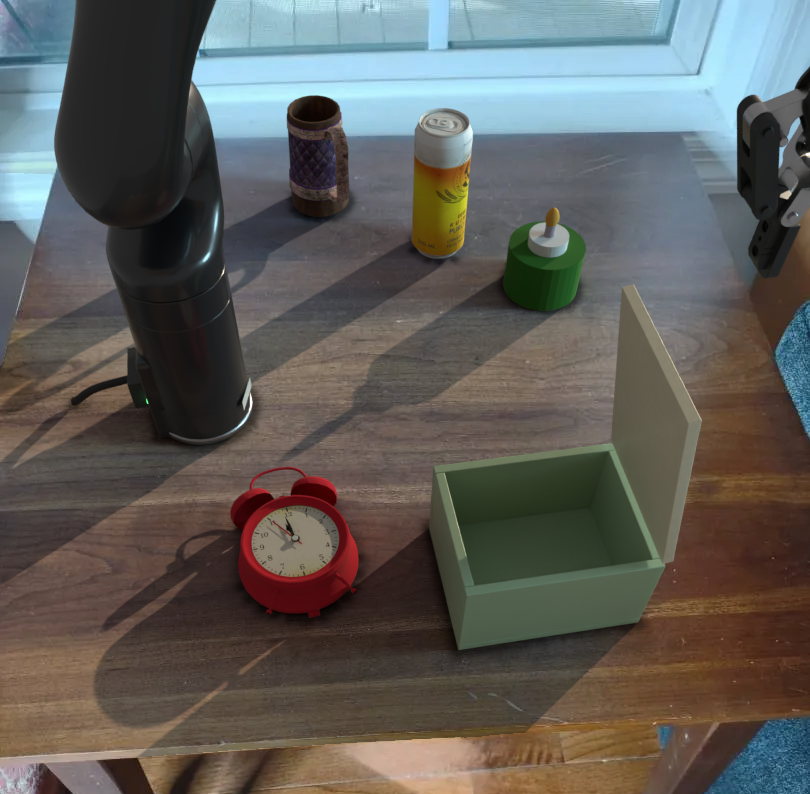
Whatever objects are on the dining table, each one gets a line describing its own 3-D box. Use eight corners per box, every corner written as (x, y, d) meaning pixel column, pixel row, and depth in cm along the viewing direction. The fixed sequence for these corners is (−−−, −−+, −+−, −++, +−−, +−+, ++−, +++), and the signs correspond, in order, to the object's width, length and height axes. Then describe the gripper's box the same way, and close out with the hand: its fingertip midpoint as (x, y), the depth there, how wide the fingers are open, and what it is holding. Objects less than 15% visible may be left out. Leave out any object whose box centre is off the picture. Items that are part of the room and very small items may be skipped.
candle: (488, 280, 98) (497, 202, 89) (542, 253, 101) (556, 175, 92) (536, 321, 94) (551, 243, 86) (591, 291, 97) (611, 213, 89)
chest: (458, 650, 71) (466, 595, 64) (428, 527, 78) (433, 465, 71) (638, 622, 73) (666, 566, 66) (593, 504, 80) (614, 442, 73)
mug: (282, 194, 106) (271, 97, 96) (334, 178, 108) (329, 83, 98) (317, 240, 101) (309, 144, 91) (371, 223, 103) (369, 127, 93)
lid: (688, 423, 52) (702, 420, 52) (621, 286, 59) (633, 283, 59) (662, 564, 65) (673, 561, 65) (610, 439, 72) (620, 437, 72)
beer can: (458, 265, 99) (468, 141, 87) (406, 257, 100) (409, 133, 87) (467, 233, 103) (478, 109, 90) (416, 226, 103) (421, 102, 91)
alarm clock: (249, 619, 68) (209, 455, 73) (255, 640, 74) (218, 487, 79) (376, 586, 70) (328, 429, 75) (372, 609, 76) (328, 462, 81)
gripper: (1049, -108, 40) (876, 216, 54) (763, -92, 38) (661, 238, 53) (1156, -37, 36) (938, 294, 50) (840, -15, 34) (707, 321, 48)
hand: (797, 264), depth 51 cm, fingers open, 3 cm apart
